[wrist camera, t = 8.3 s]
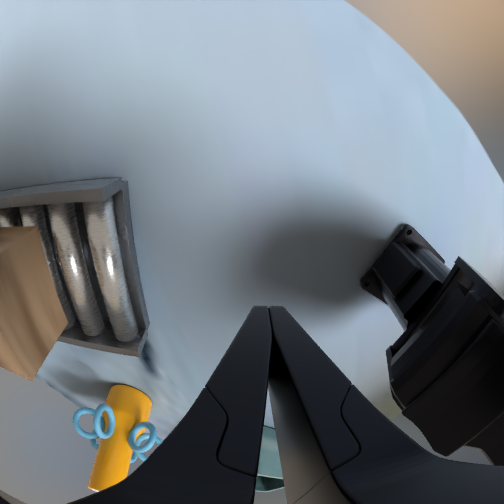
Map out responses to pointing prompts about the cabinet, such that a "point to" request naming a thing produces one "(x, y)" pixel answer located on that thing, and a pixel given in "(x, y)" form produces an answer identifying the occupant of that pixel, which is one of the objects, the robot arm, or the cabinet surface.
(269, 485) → the flower pot
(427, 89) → the cabinet surface
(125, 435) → the orange post with rings
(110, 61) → the cabinet surface
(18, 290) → the brown wooden block
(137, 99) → the cabinet surface
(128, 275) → the roller bed
